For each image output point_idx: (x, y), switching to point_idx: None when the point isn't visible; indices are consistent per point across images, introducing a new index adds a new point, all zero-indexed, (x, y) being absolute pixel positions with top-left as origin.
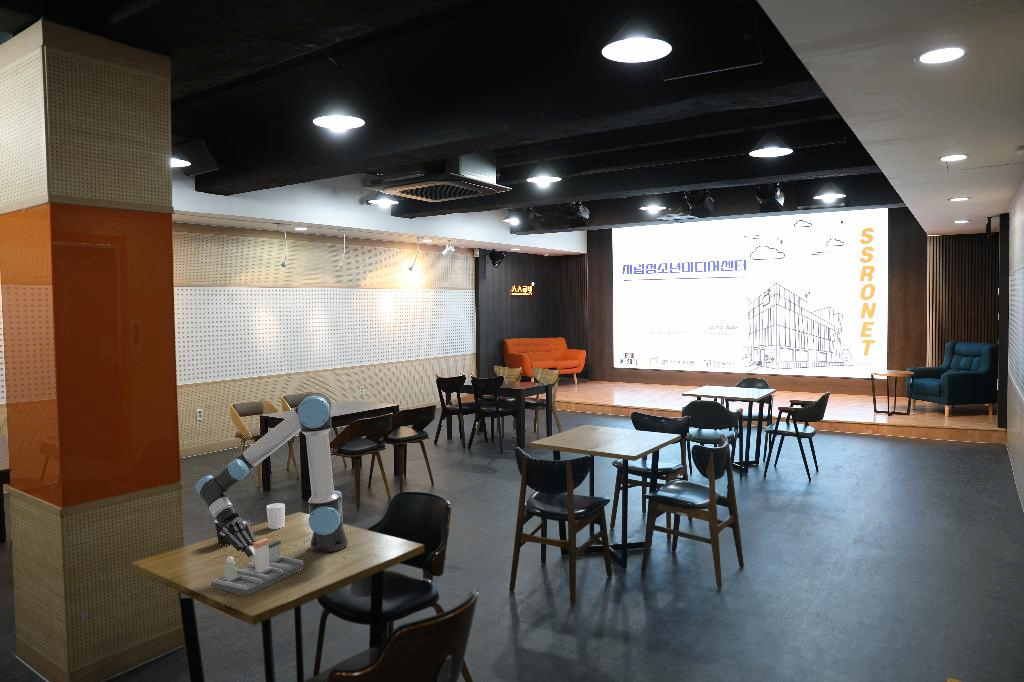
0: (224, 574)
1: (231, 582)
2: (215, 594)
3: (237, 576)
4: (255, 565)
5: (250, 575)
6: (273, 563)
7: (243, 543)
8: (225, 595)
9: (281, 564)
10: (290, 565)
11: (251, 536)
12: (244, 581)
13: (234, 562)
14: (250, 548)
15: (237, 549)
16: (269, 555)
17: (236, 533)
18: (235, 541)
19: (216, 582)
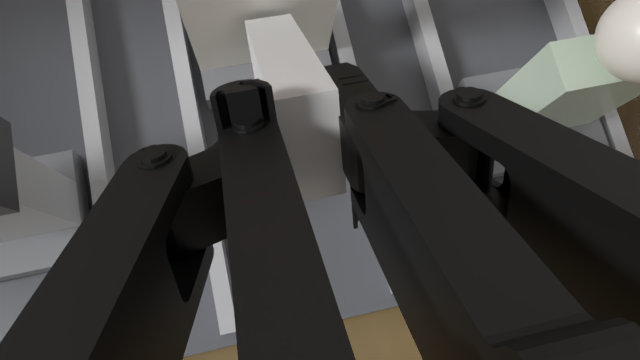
0: (615, 107)
1: (571, 19)
2: (633, 104)
3: (488, 81)
4: (333, 18)
5: None
6: (95, 106)
7: (417, 125)
8: (591, 32)
9: (72, 20)
10: (4, 14)
11: (153, 229)
12: (450, 28)
13: (570, 43)
14: (323, 72)
15: (492, 177)
16: (49, 171)
17: (582, 310)
18: (602, 147)
19: None
